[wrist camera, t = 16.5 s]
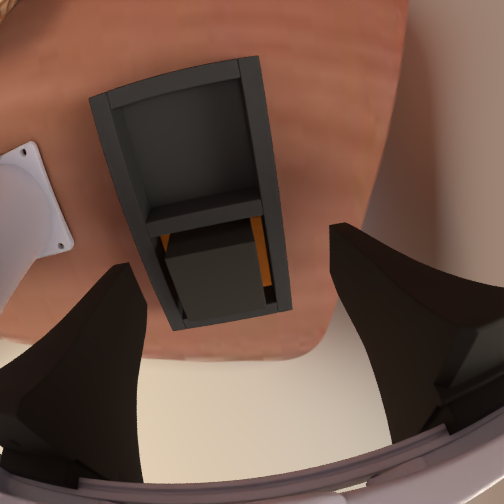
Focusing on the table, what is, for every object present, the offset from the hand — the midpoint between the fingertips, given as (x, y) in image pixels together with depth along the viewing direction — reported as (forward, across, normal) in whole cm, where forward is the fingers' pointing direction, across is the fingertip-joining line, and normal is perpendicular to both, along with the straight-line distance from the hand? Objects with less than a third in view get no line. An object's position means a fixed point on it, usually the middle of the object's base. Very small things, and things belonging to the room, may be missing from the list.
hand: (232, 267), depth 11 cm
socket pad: (+9, +1, +1) cm, 9 cm away
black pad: (+8, +1, +5) cm, 10 cm away
